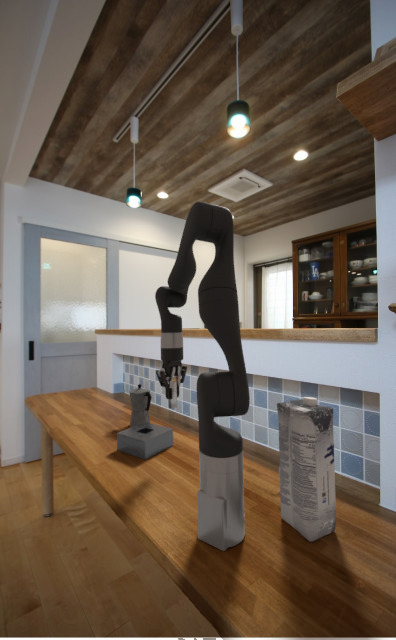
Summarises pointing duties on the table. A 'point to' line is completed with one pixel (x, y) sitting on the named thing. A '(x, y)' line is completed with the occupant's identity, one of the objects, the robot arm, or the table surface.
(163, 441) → the bore block
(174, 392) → the cylinder
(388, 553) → the table surface
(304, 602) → the table surface
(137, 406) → the coffeepot
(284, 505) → the juice carton
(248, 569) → the table surface
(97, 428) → the table surface
